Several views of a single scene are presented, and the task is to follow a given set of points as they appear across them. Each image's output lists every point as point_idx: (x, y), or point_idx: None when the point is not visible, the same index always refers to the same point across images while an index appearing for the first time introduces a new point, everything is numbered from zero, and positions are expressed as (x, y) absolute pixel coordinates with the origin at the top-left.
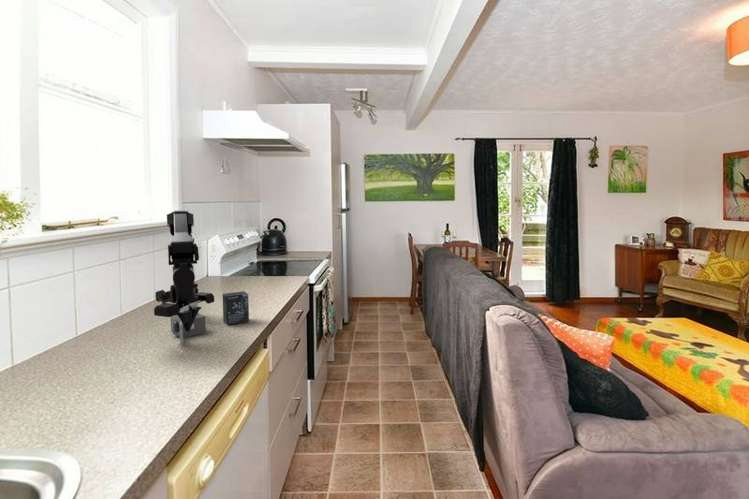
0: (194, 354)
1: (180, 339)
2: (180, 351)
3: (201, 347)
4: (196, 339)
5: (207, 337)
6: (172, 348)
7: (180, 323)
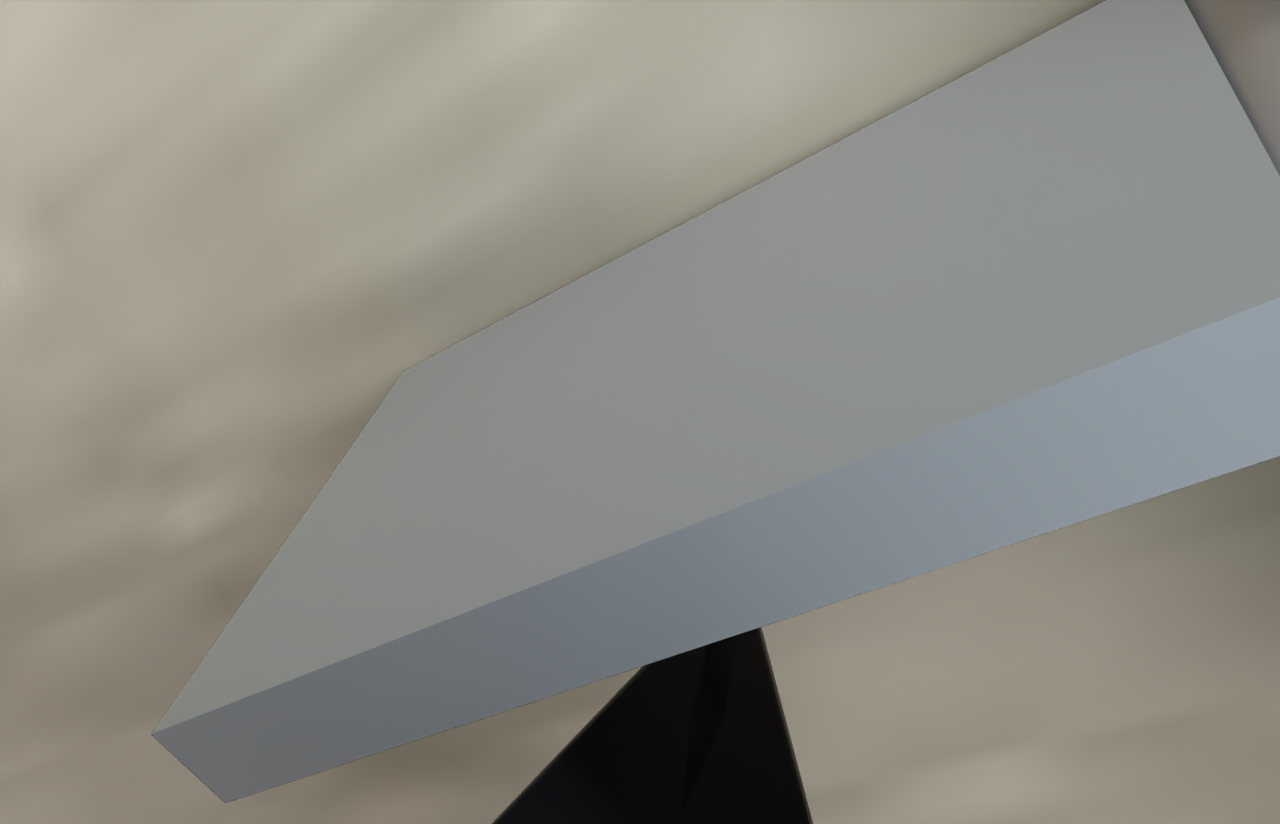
0: (152, 757)
1: (343, 480)
2: (163, 491)
3: (502, 758)
4: None
5: (1268, 681)
6: (245, 219)
7: (997, 450)
